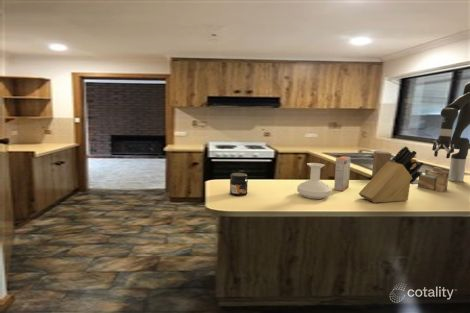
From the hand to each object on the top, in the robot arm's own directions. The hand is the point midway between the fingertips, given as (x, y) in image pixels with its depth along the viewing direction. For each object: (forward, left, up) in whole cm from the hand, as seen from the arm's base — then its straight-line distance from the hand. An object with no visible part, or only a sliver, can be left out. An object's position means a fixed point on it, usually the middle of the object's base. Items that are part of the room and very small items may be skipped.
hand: (441, 157), depth 226 cm
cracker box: (+85, -8, -19) cm, 88 cm away
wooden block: (+30, -26, -19) cm, 44 cm away
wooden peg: (+24, +12, -10) cm, 28 cm away
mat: (+16, -9, -19) cm, 26 cm away
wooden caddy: (+20, +12, -19) cm, 30 cm away
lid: (+20, +9, -12) cm, 25 cm away
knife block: (+75, +21, -19) cm, 80 cm away
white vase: (+114, +1, -19) cm, 116 cm away
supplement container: (+155, -17, -19) cm, 157 cm away
